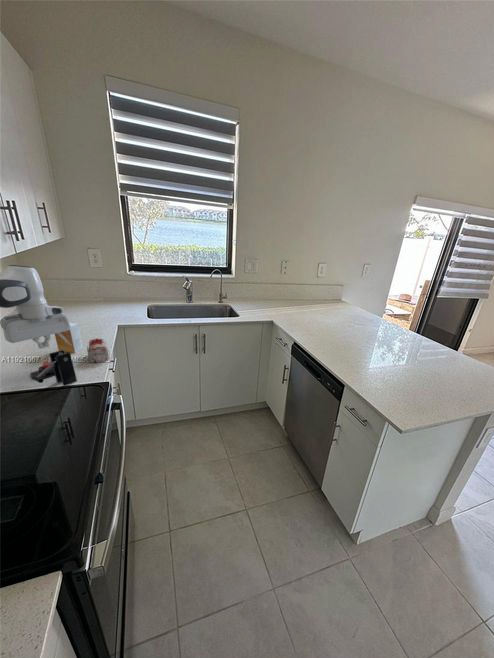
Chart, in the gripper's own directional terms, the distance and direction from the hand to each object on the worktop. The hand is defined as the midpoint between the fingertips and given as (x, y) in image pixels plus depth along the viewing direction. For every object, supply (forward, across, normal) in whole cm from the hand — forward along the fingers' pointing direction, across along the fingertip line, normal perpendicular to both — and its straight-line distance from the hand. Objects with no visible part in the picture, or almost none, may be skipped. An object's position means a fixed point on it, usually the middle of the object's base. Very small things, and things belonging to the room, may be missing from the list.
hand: (44, 347), depth 110 cm
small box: (+12, +20, +22) cm, 32 cm away
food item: (+12, +20, 0) cm, 23 cm away
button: (+8, 0, 0) cm, 8 cm away
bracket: (+12, -1, -13) cm, 18 cm away
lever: (+4, -5, -13) cm, 15 cm away
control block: (+12, 0, 0) cm, 12 cm away
